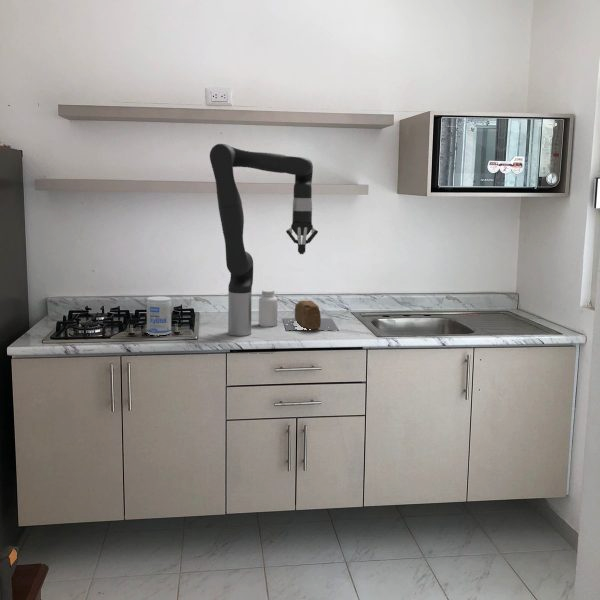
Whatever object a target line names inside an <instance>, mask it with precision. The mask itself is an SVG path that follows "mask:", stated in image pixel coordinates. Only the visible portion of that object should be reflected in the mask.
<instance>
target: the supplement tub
mask: <svg viewBox="0 0 600 600" xmlns="http://www.w3.org/2000/svg"><path fill="white" fill-rule="evenodd" d="M147 333H148V334H150V335H158V336H159V335H166V334H169V333H172V298H171V297H169V296H163V295H162V296H161V295H160V296H159V295H158V296H148V297H147V298H146V334H147ZM148 334H147V335H148ZM150 335H149V336H150Z"/></svg>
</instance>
